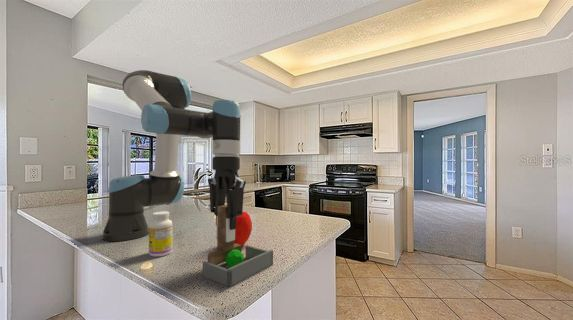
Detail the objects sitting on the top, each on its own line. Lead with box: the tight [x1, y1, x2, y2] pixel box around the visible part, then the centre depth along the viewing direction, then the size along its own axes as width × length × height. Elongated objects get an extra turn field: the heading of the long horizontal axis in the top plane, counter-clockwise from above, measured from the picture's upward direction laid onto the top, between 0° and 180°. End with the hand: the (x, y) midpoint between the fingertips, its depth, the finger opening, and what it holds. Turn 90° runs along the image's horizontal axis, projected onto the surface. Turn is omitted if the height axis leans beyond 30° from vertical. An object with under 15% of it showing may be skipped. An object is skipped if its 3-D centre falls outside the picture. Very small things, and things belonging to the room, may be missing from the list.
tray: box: [202, 244, 274, 288], centre depth 67 cm, size 10×16×4 cm, turn 144°
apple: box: [234, 211, 253, 246], centre depth 87 cm, size 10×10×12 cm
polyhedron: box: [225, 250, 245, 268], centre depth 68 cm, size 5×5×5 cm
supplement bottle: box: [148, 210, 173, 258], centre depth 79 cm, size 7×7×13 cm
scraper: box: [207, 204, 243, 266], centre depth 71 cm, size 3×10×15 cm, turn 144°
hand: (225, 239), depth 70 cm, fingers closed on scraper, 3 cm apart
